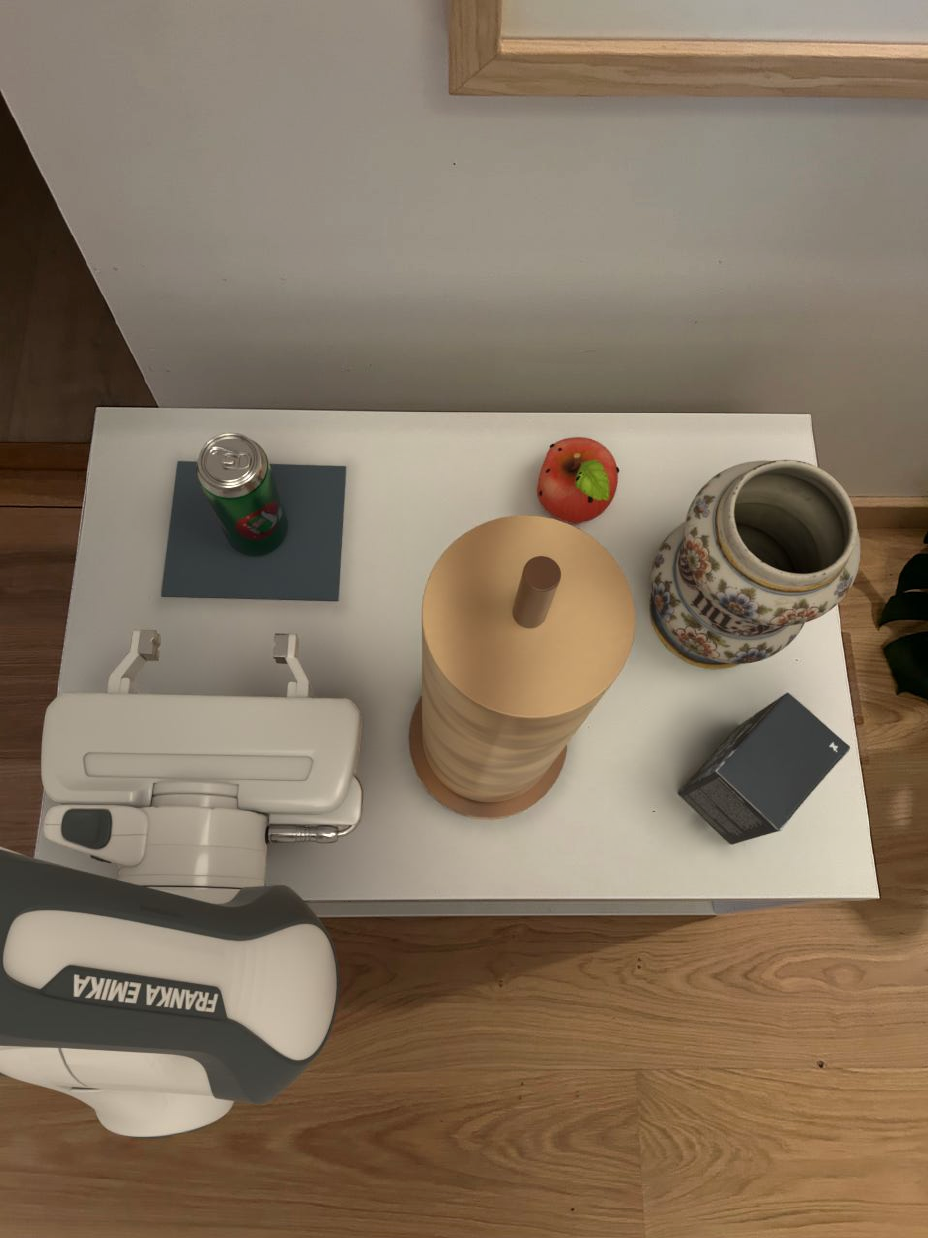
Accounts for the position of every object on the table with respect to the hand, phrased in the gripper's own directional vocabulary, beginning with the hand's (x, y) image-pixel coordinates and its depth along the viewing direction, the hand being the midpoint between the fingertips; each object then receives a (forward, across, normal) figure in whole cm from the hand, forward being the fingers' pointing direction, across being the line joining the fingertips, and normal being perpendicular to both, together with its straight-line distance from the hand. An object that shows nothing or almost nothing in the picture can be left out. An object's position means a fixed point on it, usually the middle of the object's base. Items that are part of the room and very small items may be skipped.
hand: (217, 633), depth 64 cm
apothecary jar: (+6, -37, +10) cm, 39 cm away
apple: (+15, -26, +10) cm, 32 cm away
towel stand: (-5, -19, +10) cm, 22 cm away
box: (-8, -38, +10) cm, 40 cm away
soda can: (+12, 0, +10) cm, 15 cm away
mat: (+12, 0, +10) cm, 15 cm away
